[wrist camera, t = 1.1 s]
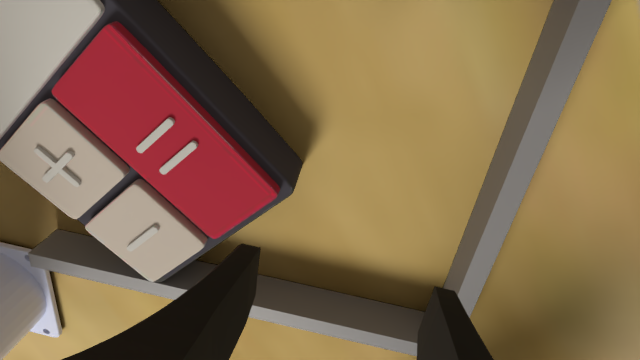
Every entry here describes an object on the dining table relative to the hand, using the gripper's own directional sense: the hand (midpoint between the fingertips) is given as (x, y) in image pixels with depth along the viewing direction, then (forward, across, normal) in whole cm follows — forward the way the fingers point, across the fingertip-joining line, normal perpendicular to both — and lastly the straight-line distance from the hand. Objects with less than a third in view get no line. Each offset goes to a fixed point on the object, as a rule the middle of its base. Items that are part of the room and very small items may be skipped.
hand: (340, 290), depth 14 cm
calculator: (+10, +12, 0) cm, 16 cm away
